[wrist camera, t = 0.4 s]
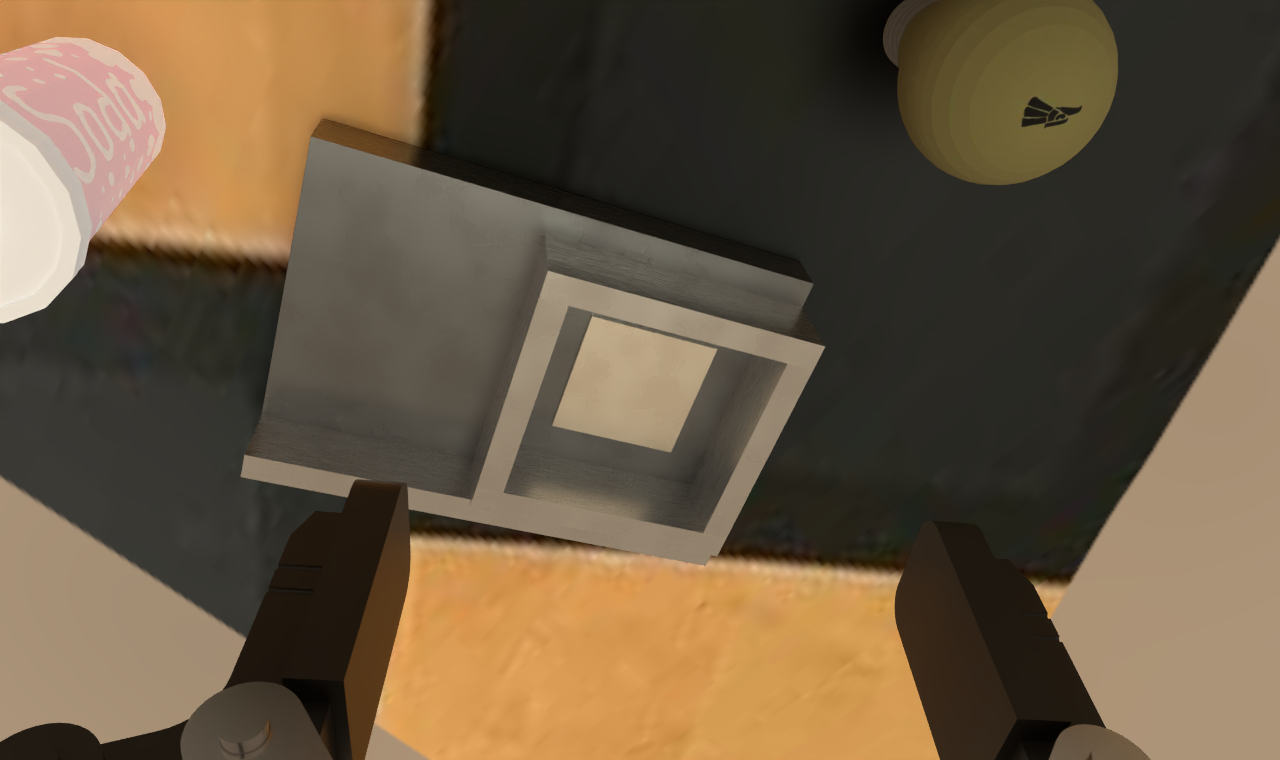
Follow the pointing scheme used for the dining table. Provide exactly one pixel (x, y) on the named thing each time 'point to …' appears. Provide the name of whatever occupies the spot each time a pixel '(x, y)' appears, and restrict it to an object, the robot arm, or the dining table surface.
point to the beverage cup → (65, 159)
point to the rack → (525, 353)
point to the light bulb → (1001, 82)
